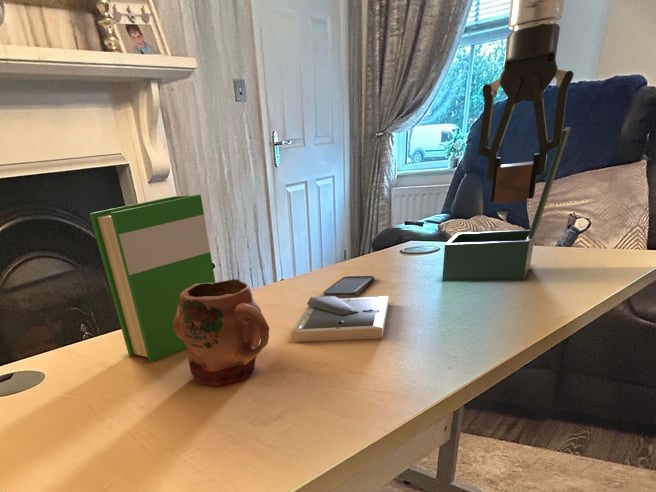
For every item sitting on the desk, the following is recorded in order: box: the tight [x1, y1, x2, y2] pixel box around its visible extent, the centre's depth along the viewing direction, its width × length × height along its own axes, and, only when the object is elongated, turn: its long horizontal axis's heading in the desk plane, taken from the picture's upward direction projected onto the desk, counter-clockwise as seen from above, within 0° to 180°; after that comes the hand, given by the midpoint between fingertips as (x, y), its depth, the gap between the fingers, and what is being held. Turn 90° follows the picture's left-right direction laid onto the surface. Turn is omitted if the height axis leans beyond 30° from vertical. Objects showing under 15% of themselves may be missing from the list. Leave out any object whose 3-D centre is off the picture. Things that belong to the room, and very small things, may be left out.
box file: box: [441, 229, 536, 282], centre depth 116 cm, size 17×13×8 cm
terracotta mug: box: [173, 278, 270, 388], centre depth 80 cm, size 20×12×14 cm, turn 49°
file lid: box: [528, 126, 571, 239], centre depth 104 cm, size 18×13×1 cm
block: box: [493, 161, 533, 205], centre depth 94 cm, size 6×6×6 cm
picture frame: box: [291, 295, 389, 343], centre depth 100 cm, size 16×3×21 cm
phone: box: [323, 275, 375, 298], centre depth 121 cm, size 8×1×15 cm
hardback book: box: [89, 194, 216, 363], centre depth 95 cm, size 18×7×24 cm, turn 136°
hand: (512, 198), depth 95 cm, fingers closed on block, 5 cm apart
